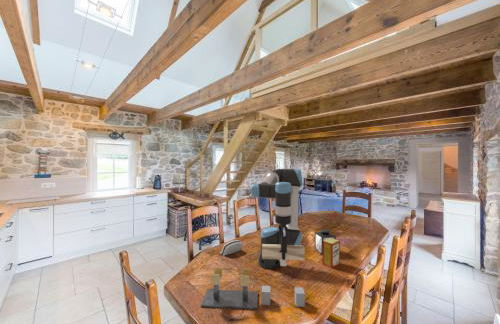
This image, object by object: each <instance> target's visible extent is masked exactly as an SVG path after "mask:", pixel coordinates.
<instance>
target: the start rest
mask: <svg viewBox="0 0 500 324" xmlns="http://www.w3.org/2000/svg"><path fill="white" fill-rule="evenodd" d="M294 303H295V306H296V307H297V308H299V307H300V308H302V307H303V308H305V307H306V292H305V290H304V287H299V286H297V287H294ZM261 305H262V306H271V286H270V285H261Z"/></svg>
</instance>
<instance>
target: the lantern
mask: <svg viewBox="0 0 500 324" xmlns="http://www.w3.org/2000/svg"><path fill="white" fill-rule="evenodd" d="M325 217H326V218H325ZM322 218H323V221H325V220H324V219H326V220H328V217H327V216H326V214H324V216H323V217H322ZM330 238H333V239H336V240H337V238H336V235H334V234H332V233H330V230H329V229H328V228H321V229H320V230H319V231H317V232H316V231H315V232H314V250H315V249H316V250H315V251H317V250H318V251H319V252H320V253H321V254H320V253H319V252H318V251H317V252H318V253H319V254H320V255H322V256H323V241H324V240H327V239H330Z"/></svg>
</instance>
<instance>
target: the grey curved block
mask: <svg viewBox="0 0 500 324" xmlns="http://www.w3.org/2000/svg"><path fill="white" fill-rule="evenodd" d="M242 248H243V242H242V241H241V240H238V239H236V240H235V239H234V240H231V241H229V242H227V243H225V244H224V245H223V248H222V249H221V250H220V253H219V254H220V255H222V256H223V257H225V255H226V256H228V254H229V255H231V254H234V253H237V252H241V251H242Z"/></svg>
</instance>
